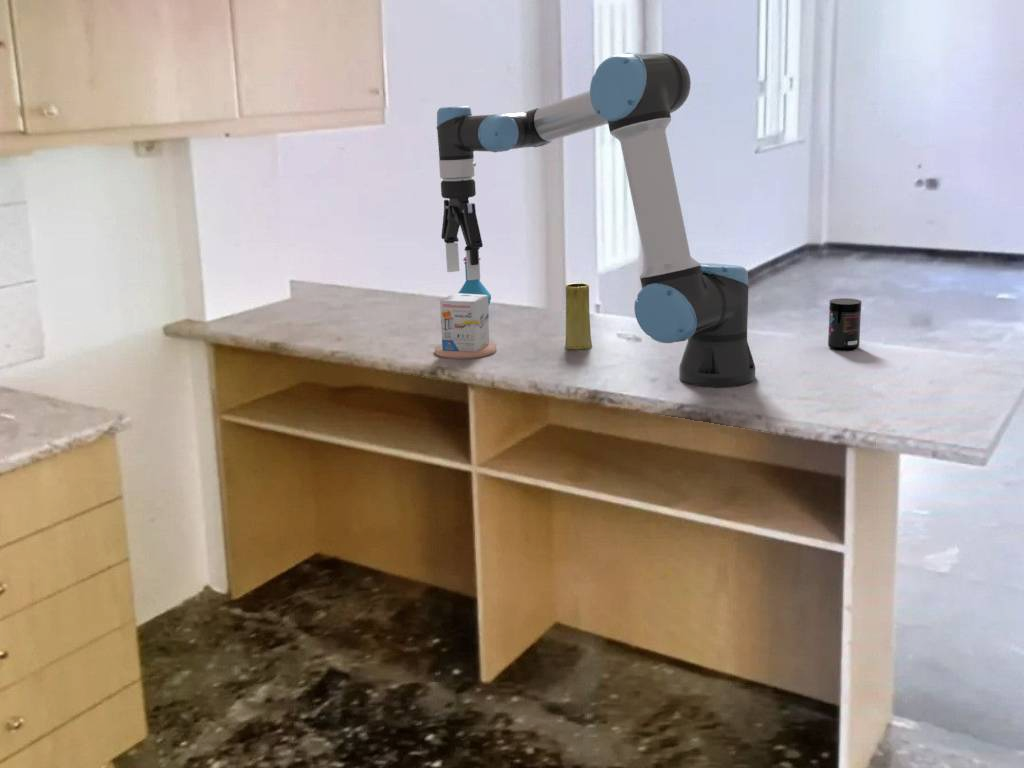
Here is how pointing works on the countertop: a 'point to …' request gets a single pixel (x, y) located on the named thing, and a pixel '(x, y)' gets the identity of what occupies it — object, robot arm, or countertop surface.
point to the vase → (577, 317)
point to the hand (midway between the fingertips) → (463, 275)
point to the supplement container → (844, 324)
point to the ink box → (464, 322)
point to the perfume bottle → (474, 286)
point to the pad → (482, 352)
